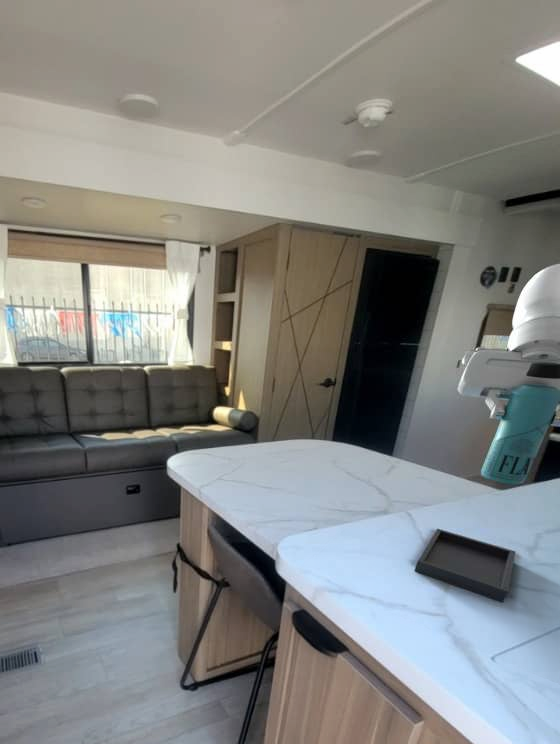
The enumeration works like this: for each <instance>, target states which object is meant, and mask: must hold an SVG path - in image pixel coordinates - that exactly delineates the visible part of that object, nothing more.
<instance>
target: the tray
mask: <svg viewBox="0 0 560 744" xmlns="http://www.w3.org/2000/svg"><path fill="white" fill-rule="evenodd" d="M515 557H516V551H515V550H512V549H509V548H505V547H502V546H500V545H499V546H498V545H495V544H491V543H488V542H484V541H481V540H478V539H475V538H471V537H468V536H464V535H461V534H458V533H454V532H452V531H448V530H445V529H440V528H436V530H435V532H434V533H433V535H432V537H431V538H430V540H429V542H428V543H427V545H426V546H425V548H424V550H423V552H422V553H421V555H420V557H419V558H418V560H417V562H416V565H415V567H414V572H416V573H419V574H422V575H425V576H428V577H430V578H433V579H435V580H439V581H441V582H444V583H447V584H450V585H453V586H455V587H458V588H461V589H464V590H467V591H469V592H472V593H475V594H477V595H481V596H484V597H486V598H489V599H491V600H495V601H498V602H500V603H504V601H505V599H506V597H507V595H508V593H509V589H510V584H511V579H512V574H513V573H512V572H513V567H514V562H515Z"/></svg>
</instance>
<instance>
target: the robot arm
mask: <svg viewBox="0 0 560 744" xmlns="http://www.w3.org/2000/svg"><path fill="white" fill-rule="evenodd" d="M512 316H513V317H512V321H511V324H512V326H511V327H512V331H511V333H510V334H509V337H508V341H507V345H506V348H502V347H485V346H478V347H476V348H474V349H473V348H472V349H470V350H468V351H466V352H465V353H464V355H463V357H462V366H463V368H465V369H464V371H463V372H462V375H461V378H460V380H459V383H458V386H457V392H458V393H459V394H460V395H461V396H465V397H473V398H483V399H485V401H484V402H485V403H486V406H487V407H488V409H489V410H490V411H491V412H490V415H489V416H490V417H489V419H492V420H493V419H494V420H501V419H502V417H503V416H504V413H505V409H506V406H507V404H501V402H500V401H499V400H504V401H508V400H509V398H510V395H511V391H512V390H514V389H515V388H517V387H519V386H521V385H524V384H530V385H542V386H550V387H555V388H557V389H558V390H559V392H560V379H549V378H538V377H530V376H526V374H527V372H528V370H529V368H530V366H531V364H532V363H538V362H550V363H557V364H560V263H556V264H552V265H549V266H547V267H545V268H544V269H541V270H540V271H539V272H537V273H536V274H535V275H533V277H531V278H530V279H529V280H528V282H526V284H525V286H524V287H523V289H522V290H521V292H520V294H519V296H518V299H517V302H516V306H515V309H514V312H513V315H512ZM558 406H560V401H559V403H558ZM553 417H554V418H553V419H552V420H553V421H552V420H551V421H552V422H551V426H552V427H560V410H555V413H554V416H553ZM551 426H550V427H551Z"/></svg>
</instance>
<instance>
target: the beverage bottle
mask: <svg viewBox="0 0 560 744" xmlns="http://www.w3.org/2000/svg"><path fill="white" fill-rule="evenodd" d="M526 376H530V377H538V378H549V379H560V364H557V363H550V362H538V363H532V364H531V366H530V368H529V370H528V372H527V374H526ZM559 401H560V392H559V390H558V389H557V388H555V387H550V386H542V385H530V384H524V385H521V386H519V387H517V388H515V389H514V390H512V391H511V395H510V398H509V400H507V403H506V409H505V413H504V416H503V417H502V419H500V422H499V425H498V427H497V429H496V432H495V435H494V437H493V438H492V442H491V443H490V446H489V448H488V451H487V453H486V456H485V459H484V462H483V465H482V467H481V469H480V475H481V476H482V477H484V478H485V479H488V480H490V481H494V482H496V483H497V482H498V483H502V484H507V485H521V484H523V483H524V482H525V481H527V479H528V477H529V474H530V472H531V471H532V468H533V466H534V464H535V461H536V459H537V458H538V457H537V454H538V453H539V452H540V450H541V447H542V444H543V443H542V442H544V441H545V438H546V435H547V433H548V432H549V429H550V427H551V422H552V421H553V420H552V419H553V418H554V417H553V416H554V413H555V411H557V408H558V406H559V405H558V403H559ZM551 420H552V421H551Z"/></svg>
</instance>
